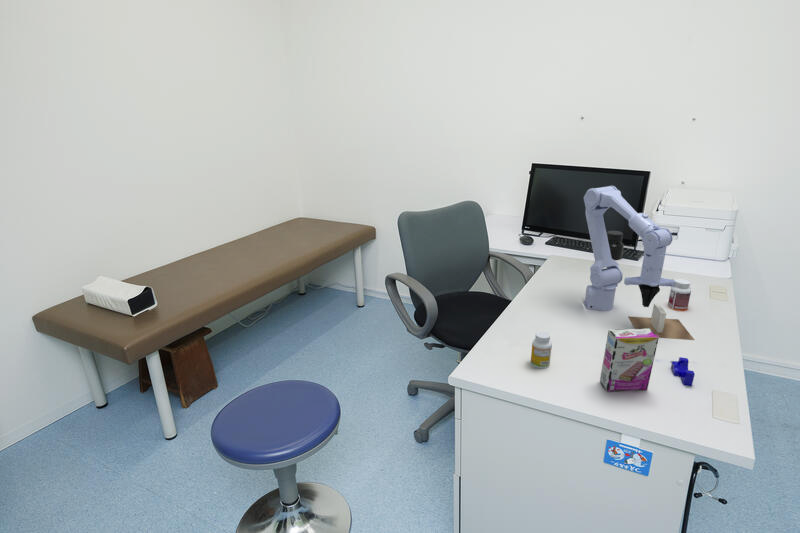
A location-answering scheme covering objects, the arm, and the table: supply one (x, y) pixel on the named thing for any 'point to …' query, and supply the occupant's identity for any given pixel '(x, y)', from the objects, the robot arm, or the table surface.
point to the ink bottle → (615, 244)
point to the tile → (658, 318)
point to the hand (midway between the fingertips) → (645, 305)
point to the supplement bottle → (541, 350)
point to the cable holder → (683, 371)
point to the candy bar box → (628, 359)
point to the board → (670, 330)
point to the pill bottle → (680, 295)
